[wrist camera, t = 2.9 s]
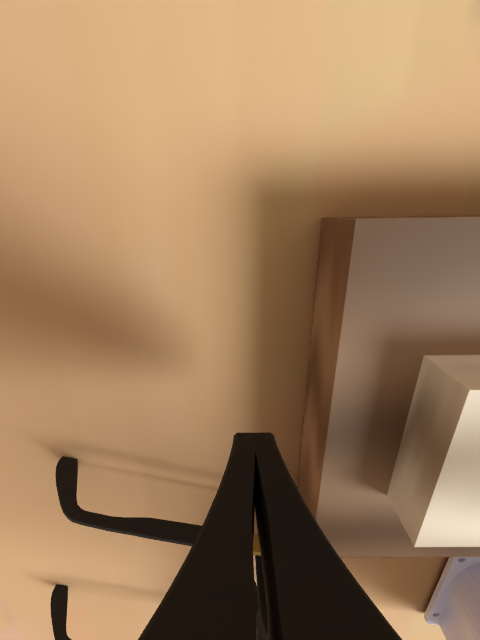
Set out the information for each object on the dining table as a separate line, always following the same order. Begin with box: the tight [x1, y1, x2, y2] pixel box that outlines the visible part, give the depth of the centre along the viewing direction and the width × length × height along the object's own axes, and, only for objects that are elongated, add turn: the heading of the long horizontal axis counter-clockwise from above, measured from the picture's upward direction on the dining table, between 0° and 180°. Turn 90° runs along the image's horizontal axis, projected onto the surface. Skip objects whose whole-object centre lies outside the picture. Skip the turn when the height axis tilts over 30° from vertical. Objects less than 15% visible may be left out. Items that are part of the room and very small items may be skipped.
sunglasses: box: [51, 456, 268, 640], centre depth 17 cm, size 14×15×5 cm
